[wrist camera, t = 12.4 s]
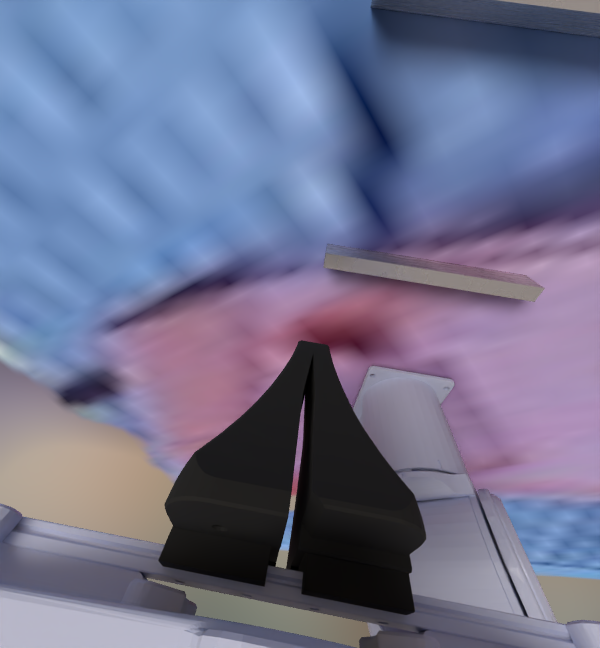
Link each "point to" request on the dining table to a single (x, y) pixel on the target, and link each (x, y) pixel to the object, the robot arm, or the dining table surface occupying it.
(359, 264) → the parallel bars
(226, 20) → the dining table surface
